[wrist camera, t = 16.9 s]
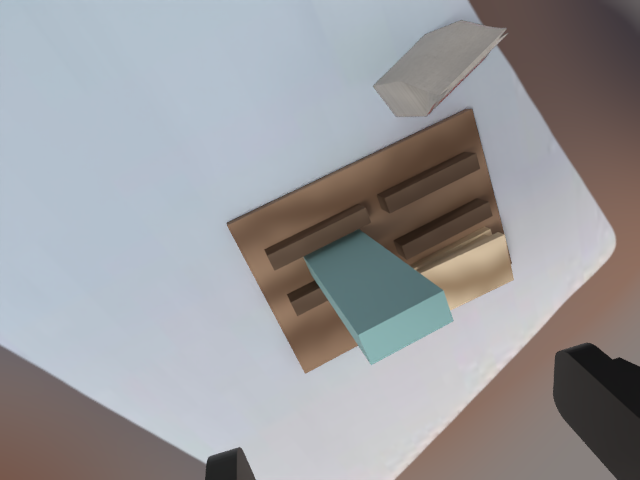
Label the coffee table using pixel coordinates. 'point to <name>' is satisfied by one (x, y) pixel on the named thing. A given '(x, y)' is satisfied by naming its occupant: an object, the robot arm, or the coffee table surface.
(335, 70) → the coffee table surface
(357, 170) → the walnut rack
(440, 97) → the tea bag
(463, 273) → the pine offcuts
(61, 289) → the coffee table surface
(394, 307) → the teal panel
